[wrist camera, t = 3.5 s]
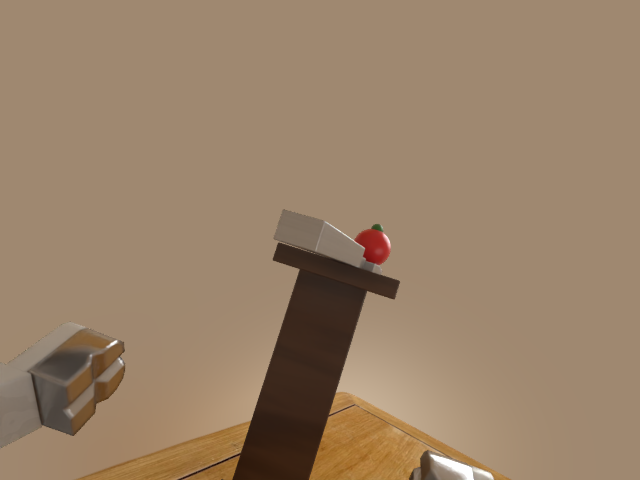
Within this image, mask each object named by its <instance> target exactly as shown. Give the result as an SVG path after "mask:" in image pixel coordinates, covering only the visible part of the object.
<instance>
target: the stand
mask: <svg viewBox="0 0 640 480" xmlns="http://www.w3.org/2000/svg"><path fill="white" fill-rule="evenodd" d="M273 261H277V262H279V263H283V264H286V265H289V266H292V267H295V268H298V269H300V271H299V273H298V277H297V280H296V283H295V286H294V289H293V292H292V295H291V298H290V301H289V305H288V308H287V311H286V314H285V317H284V320H283V323H282V327H281V330H280V333H279V336H278V339H277V342H276V345H275V348H274V351H273V355H272V358H271V361H270V364H269V367H268V370H267V373H266V377H265V380H264V383H263V386H262V389H261V392H260V395H259V398H258V402H257V405H256V408H255V411H254V414H253V417H252V420H251V423H250V426H249V430H248V433H247V436H246V439H245V442H244V445H243V448H242V451H241V455H240V458H239V461H238V464H237V467H236V470H235V473H234V476H233V480H309V477H310V474H311V471H312V468H313V464H314V461H315V458H316V455H317V451H318V448H319V445H320V442H321V438H322V435H323V432H324V429H325V426H326V422H327V419H328V416H329V413H330V409H331V406H332V403H333V400H334V396H335V393H336V390H337V387H338V384H339V380H340V377H341V373H342V370H343V367H344V364H345V361H346V358H347V354H348V351H349V348H350V345H351V341H352V338H353V335H354V332H355V329H356V325H357V322H358V319H359V316H360V312H361V309H362V306H363V303H364V299H365V296H366V293H367V291H369V292H372V293H375V294H379V295H382V296H385V297H388V298H391V299H395V297H396V293H397V289H398V287H399V284H400V281H399V280H395V279H392V278H389V277H386V276H383V275H380V274H377V273H374V272H370V271H367V270H364V269H361V268H358V267H355V266H352V265H348V264H345V263H342V262H339V261H336V260H333V259H329V258H326V257H323V256H320V255H317V254H314V253H311V252H307V251H304V250H301V249H298V248H295V247H292V246H289V245H285V244H282V243H278V245H277V248H276V251H275V254H274V257H273ZM221 480H223V479H221Z"/></svg>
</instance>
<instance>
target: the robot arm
mask: <svg viewBox="0 0 640 480" xmlns="http://www.w3.org/2000/svg"><path fill="white" fill-rule="evenodd" d="M124 351H125V350H124V342H122V341H120V340H117V339H115V338H112V337H109V336H107V335H104V334H102V333H99V332H96V331H94V330H91V329H89V328H86V327H84V326H81V325H78V324H75V323H73V322H67V323H64V324H62V325H60V326H59V327H57V328H56V329H55V330H53V331H52V332H51V333H49V334H48V335H46V336H45V337H43V338H42V339H41V340H39V341H38V342H36V343H35V344H34V345H33V346H31V347H30V348H28V349H27V350H25V351H24V352H23V353H21V354H20V355H18V356H17V357H16V358H14V359H13V360H11V361H10V362H9V363H7V364H4V363H0V448H2V447H4V446H6V445H8V444H10V443H12V442H14V441H16V440H18V439H20V438H22V437H23V436H25V435H27V434H29V433H31V432H33V431H35V430H37V429H39V428H41V427H42V425H44V426H46V427H49V428H52V429H55V430H58V431H61V432H64V433H66V434H69V435H72V436H74V435H75V434H76V433H77V432H78V431H79V430H80V429H81V427H83V425H84V424H85V423H86V422H87V421H88V420H89V419H90V418H91V417H92V416H93V415H94V413H95V409H96V404H97V403H99V402H101V401H104V400H106V399H108V398H109V397H110V396H111V395H112V394H113V393H114V392H115V390H116V389H117V387H118V386H119V384H120V382H121V381H122V379H123V376H124V372H125V363H124V361H123V360H122V358H121V357H120V355H121V354H122V353H123V352H124ZM420 463H421V467H418V468H415V469H414V470H413V472H412V474H411V475H410V477H409V480H494V478H493V476H492V474H491V473H490V472H488V471H485V470H482V469H479V468H476V467H473V466H471V465H468V464H467V463H464V462H461V461H458V460H455V459H452V458H449V457H446V456H443V455H440V454H438V453H435V452H432V451H429V450H427V451H425V452H424V453H423V455H422V456H421V458H420Z"/></svg>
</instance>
